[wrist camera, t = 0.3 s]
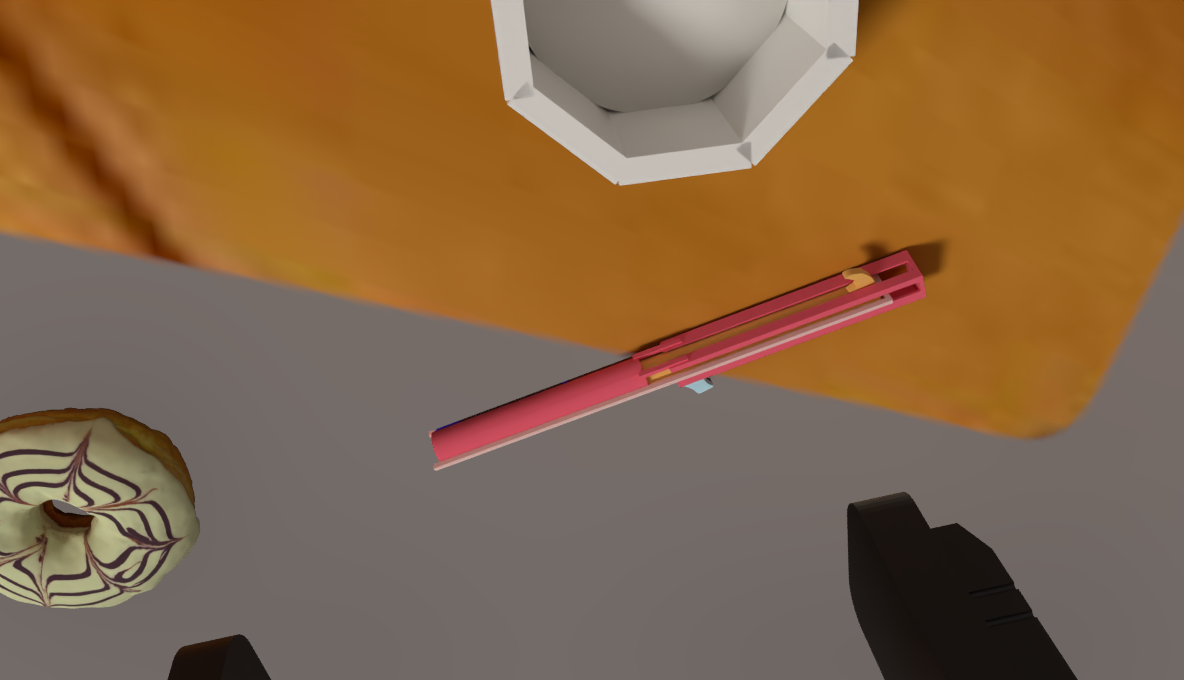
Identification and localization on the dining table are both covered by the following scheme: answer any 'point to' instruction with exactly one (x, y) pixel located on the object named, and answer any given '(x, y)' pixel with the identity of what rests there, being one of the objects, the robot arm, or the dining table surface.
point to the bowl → (670, 77)
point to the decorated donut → (90, 507)
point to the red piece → (689, 357)
